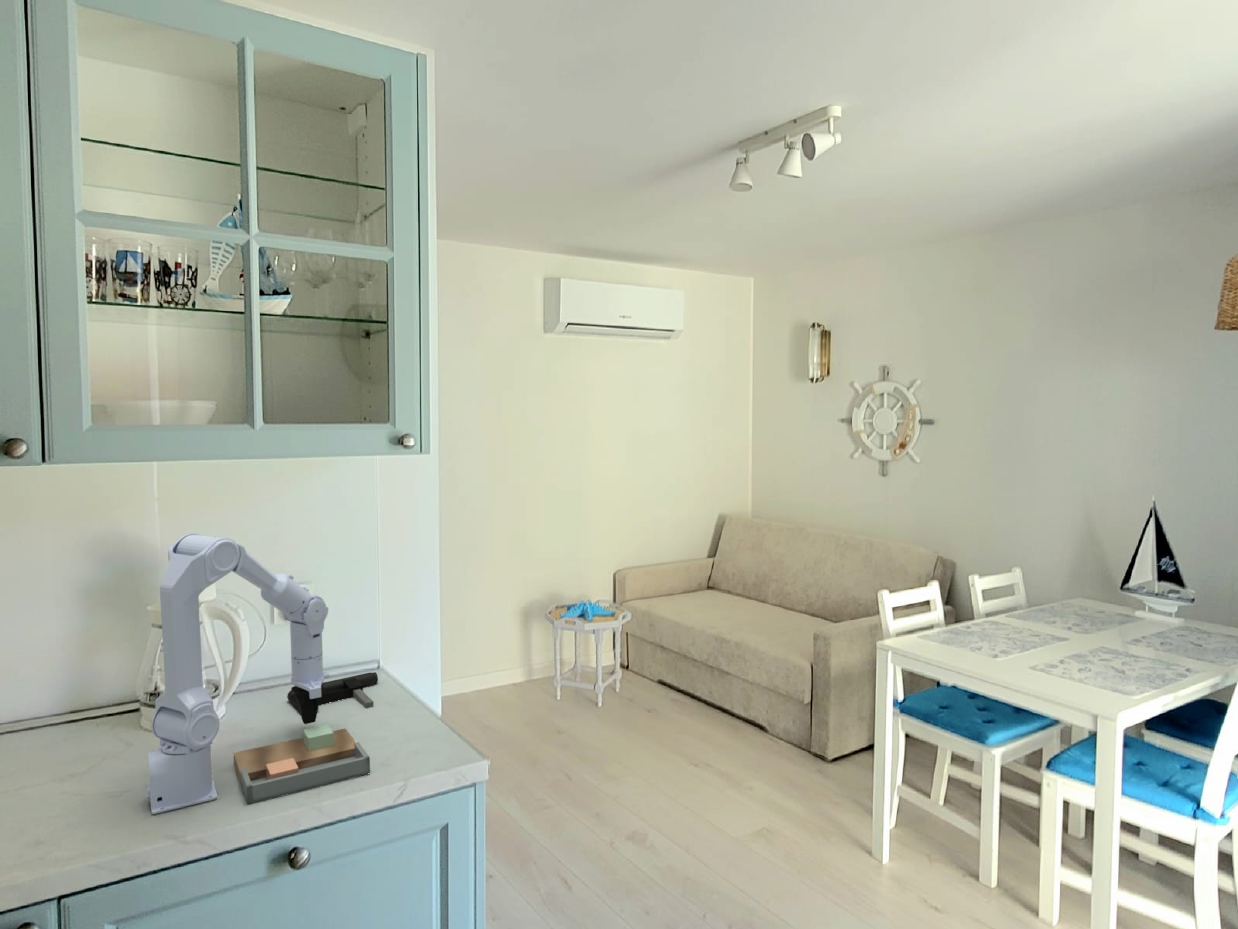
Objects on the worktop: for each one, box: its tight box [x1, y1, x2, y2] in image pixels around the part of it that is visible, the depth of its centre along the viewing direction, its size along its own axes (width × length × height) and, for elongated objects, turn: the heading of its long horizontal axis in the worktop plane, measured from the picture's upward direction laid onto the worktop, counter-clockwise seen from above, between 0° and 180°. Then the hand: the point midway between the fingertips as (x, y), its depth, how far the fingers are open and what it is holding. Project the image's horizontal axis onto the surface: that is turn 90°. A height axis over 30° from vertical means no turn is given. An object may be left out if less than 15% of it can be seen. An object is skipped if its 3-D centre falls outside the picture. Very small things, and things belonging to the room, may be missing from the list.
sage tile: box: [302, 724, 334, 751], centre depth 148 cm, size 4×4×2 cm
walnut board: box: [233, 727, 356, 784], centre depth 145 cm, size 20×10×2 cm, turn 123°
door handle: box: [286, 672, 379, 713], centre depth 175 cm, size 3×20×16 cm
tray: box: [240, 742, 371, 805], centre depth 138 cm, size 20×7×3 cm, turn 123°
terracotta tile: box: [266, 758, 299, 780], centre depth 137 cm, size 4×4×2 cm
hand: (309, 722), depth 155 cm, fingers closed
